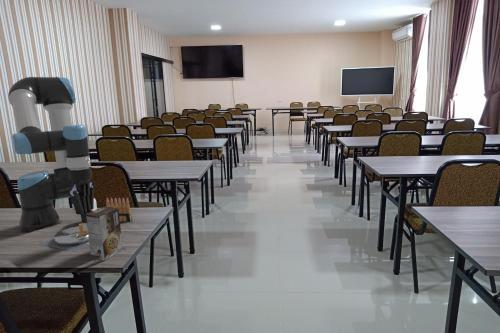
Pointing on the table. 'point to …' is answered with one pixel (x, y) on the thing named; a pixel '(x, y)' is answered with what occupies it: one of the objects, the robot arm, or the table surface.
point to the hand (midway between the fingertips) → (87, 230)
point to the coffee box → (104, 232)
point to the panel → (71, 248)
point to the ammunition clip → (121, 208)
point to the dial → (71, 236)
